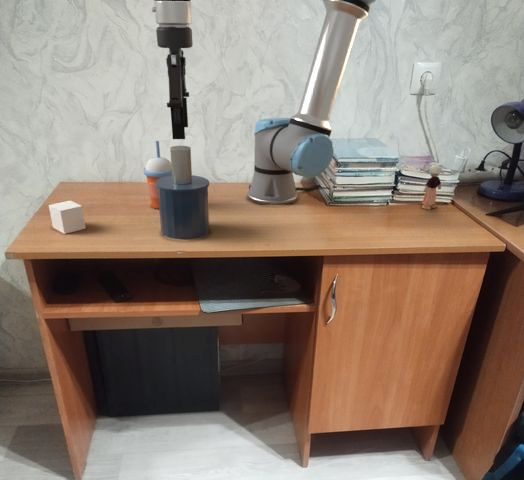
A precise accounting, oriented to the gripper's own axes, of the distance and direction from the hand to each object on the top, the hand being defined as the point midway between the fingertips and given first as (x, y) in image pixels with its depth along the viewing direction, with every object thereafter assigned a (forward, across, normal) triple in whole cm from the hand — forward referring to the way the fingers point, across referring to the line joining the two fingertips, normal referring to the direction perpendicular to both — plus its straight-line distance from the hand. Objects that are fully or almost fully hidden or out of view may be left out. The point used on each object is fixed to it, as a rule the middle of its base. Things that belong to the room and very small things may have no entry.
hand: (180, 132), depth 122 cm
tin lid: (+12, 0, 0) cm, 12 cm away
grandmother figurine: (+25, -21, +72) cm, 79 cm away
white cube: (+24, -3, -31) cm, 39 cm away
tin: (+24, 0, 0) cm, 24 cm away
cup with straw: (+25, -22, -8) cm, 34 cm away
